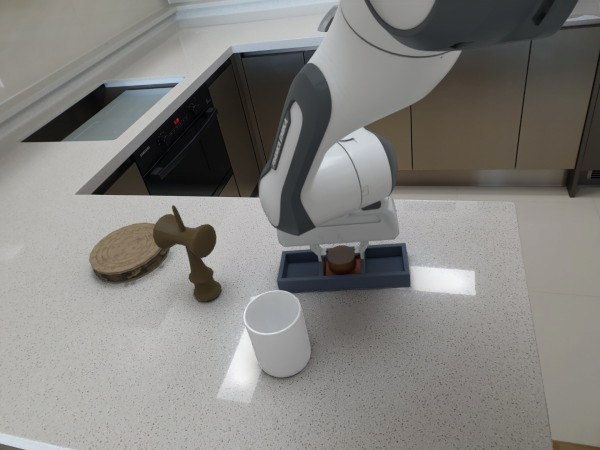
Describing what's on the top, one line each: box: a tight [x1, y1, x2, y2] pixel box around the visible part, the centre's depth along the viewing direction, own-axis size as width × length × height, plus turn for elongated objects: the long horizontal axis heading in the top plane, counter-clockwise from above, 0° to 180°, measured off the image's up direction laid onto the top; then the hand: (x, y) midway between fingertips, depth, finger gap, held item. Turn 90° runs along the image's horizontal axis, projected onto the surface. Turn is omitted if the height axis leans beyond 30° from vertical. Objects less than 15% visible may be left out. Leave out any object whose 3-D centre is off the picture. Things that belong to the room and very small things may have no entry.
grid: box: [276, 242, 411, 294], centre depth 82 cm, size 8×23×3 cm, turn 85°
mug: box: [242, 289, 312, 378], centre depth 69 cm, size 12×8×10 cm
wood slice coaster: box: [88, 222, 170, 284], centre depth 97 cm, size 16×16×3 cm
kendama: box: [153, 204, 222, 302], centre depth 79 cm, size 6×10×20 cm, turn 61°
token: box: [327, 244, 356, 275], centre depth 81 cm, size 5×5×2 cm
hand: (341, 258), depth 81 cm, fingers closed on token, 5 cm apart
